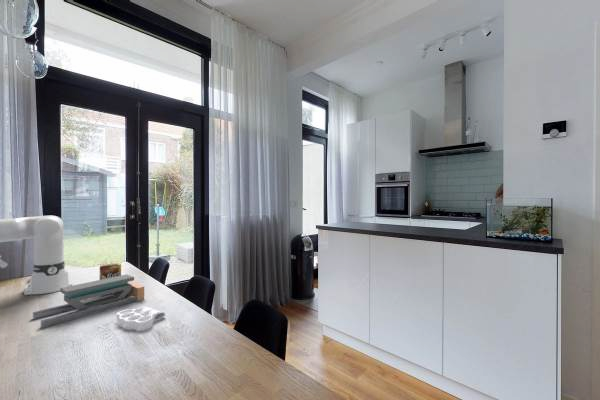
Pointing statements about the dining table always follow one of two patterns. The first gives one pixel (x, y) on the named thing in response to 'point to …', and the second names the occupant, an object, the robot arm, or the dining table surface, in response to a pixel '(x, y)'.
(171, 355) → the dining table surface
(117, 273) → the candy box
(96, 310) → the guide track
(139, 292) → the end stop
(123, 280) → the sharpening stone
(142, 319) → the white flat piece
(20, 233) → the robot arm
